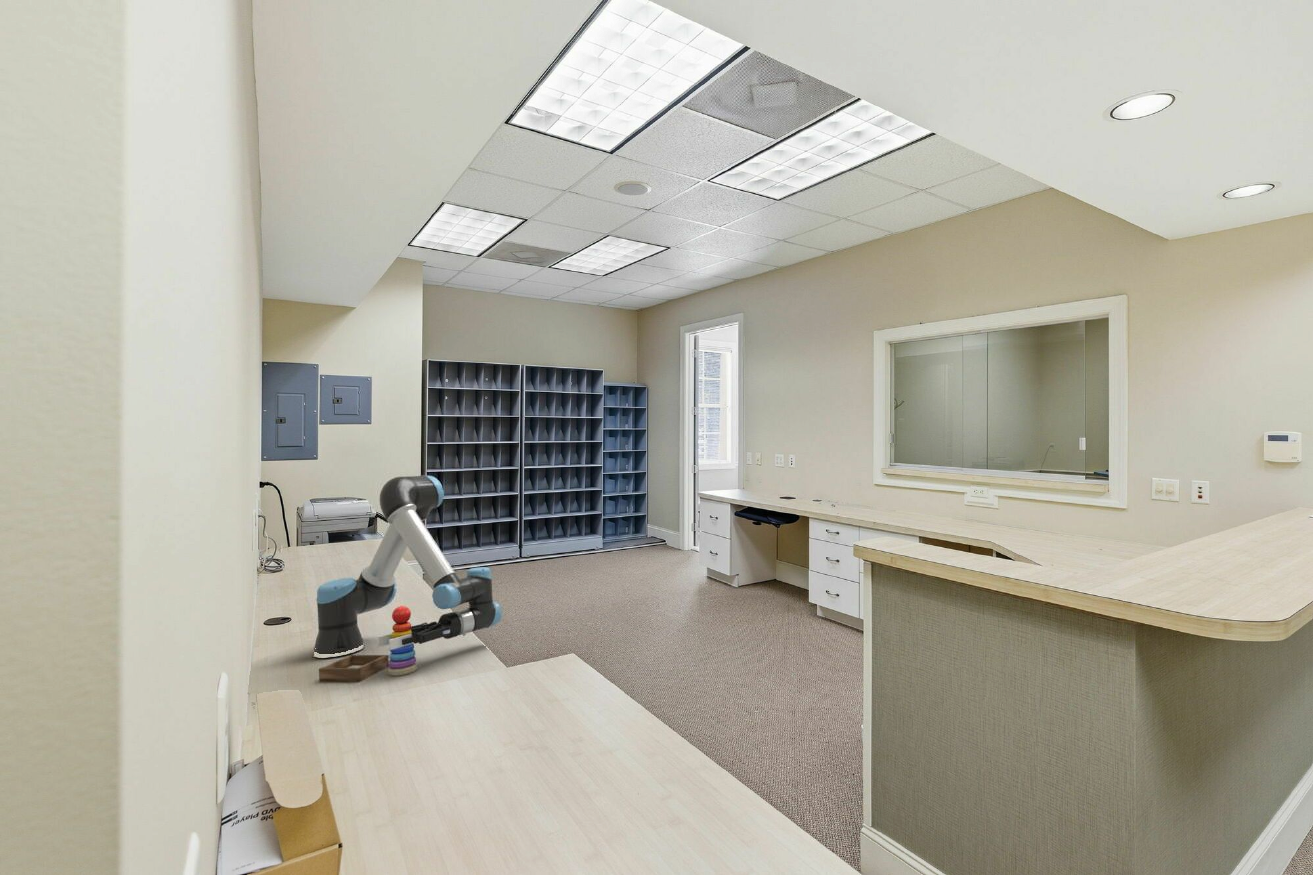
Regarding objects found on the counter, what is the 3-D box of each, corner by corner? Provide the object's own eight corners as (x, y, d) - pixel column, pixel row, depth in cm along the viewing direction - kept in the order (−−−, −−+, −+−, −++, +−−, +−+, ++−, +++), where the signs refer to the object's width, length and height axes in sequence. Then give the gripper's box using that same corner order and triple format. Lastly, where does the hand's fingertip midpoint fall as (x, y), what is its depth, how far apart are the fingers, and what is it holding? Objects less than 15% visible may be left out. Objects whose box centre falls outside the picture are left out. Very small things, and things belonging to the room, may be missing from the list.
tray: (351, 666, 189) (351, 654, 189) (389, 666, 186) (388, 654, 186) (319, 681, 176) (318, 668, 176) (358, 682, 173) (357, 669, 173)
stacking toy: (407, 676, 175) (403, 609, 176) (381, 676, 176) (378, 610, 177) (423, 667, 183) (419, 603, 184) (398, 667, 184) (395, 603, 185)
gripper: (474, 639, 188) (402, 661, 170) (439, 632, 200) (368, 652, 182) (472, 614, 188) (400, 633, 170) (438, 609, 200) (367, 626, 182)
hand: (384, 643), depth 176 cm, fingers closed on stacking toy, 6 cm apart
